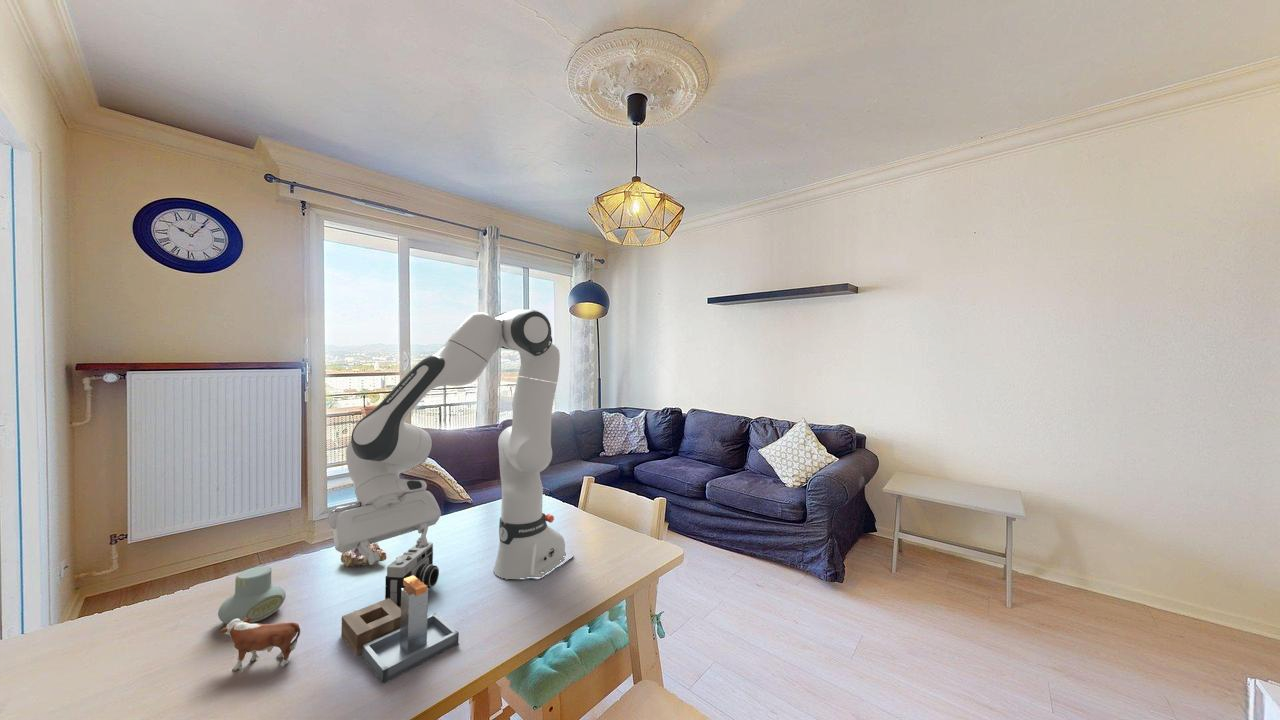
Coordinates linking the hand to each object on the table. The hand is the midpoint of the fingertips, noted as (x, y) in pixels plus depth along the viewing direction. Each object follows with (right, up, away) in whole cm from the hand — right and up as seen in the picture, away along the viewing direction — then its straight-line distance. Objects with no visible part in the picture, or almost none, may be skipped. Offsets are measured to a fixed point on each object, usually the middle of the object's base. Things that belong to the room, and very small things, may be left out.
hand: (400, 554), depth 88 cm
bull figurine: (-22, -17, -9) cm, 29 cm away
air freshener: (-35, -16, +5) cm, 39 cm away
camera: (-5, -17, +16) cm, 24 cm away
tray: (+5, -17, -5) cm, 18 cm away
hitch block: (-6, -17, 0) cm, 18 cm away
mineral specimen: (-27, -17, +30) cm, 43 cm away
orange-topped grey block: (+5, -16, -4) cm, 18 cm away
